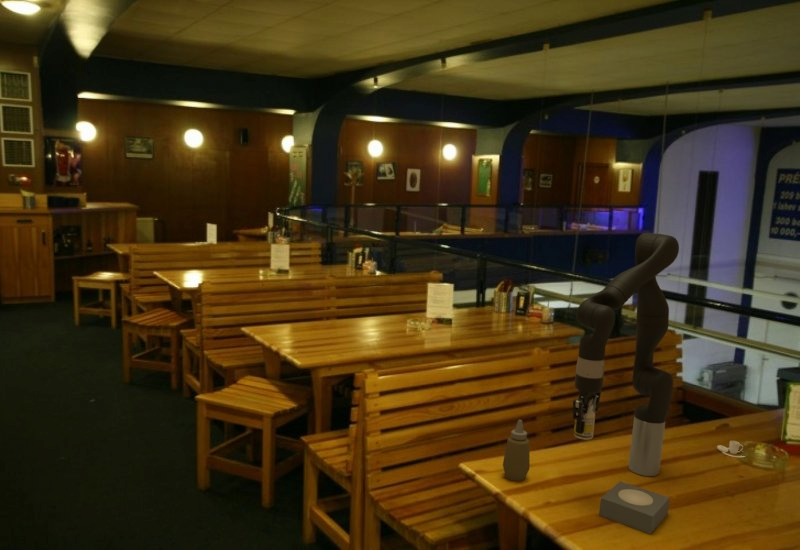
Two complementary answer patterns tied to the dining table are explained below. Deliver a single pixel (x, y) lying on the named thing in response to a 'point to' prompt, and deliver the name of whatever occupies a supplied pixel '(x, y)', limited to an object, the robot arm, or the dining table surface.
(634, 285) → the robot arm
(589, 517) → the dining table surface
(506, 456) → the squeeze bottle
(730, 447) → the teacup and saucer
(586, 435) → the supplement bottle
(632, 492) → the charcoal stand
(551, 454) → the dining table surface
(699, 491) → the dining table surface
